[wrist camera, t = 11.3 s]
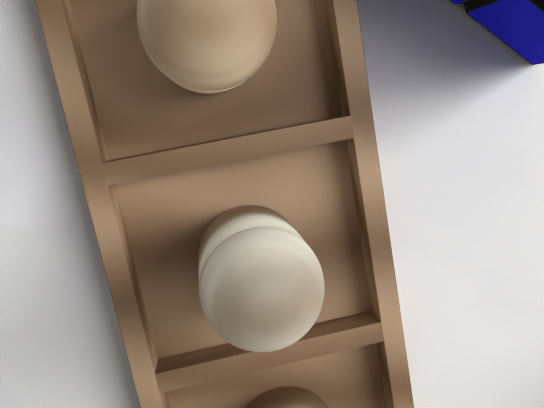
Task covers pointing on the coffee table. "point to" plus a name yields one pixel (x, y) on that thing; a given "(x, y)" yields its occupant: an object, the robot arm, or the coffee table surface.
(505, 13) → the puzzle cube
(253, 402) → the tan egg far
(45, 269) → the coffee table surface
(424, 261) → the coffee table surface
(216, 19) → the tan egg near
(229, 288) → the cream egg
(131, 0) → the wooden compartment tray
